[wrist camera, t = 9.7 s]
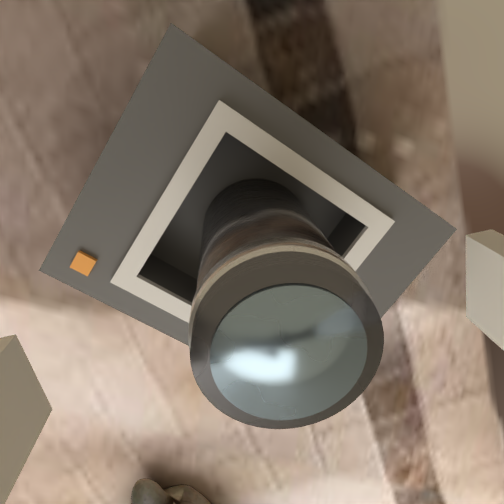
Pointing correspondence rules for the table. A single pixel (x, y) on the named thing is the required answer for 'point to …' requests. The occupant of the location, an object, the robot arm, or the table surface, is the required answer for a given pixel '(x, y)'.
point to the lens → (278, 313)
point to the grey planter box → (213, 182)
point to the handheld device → (165, 494)
